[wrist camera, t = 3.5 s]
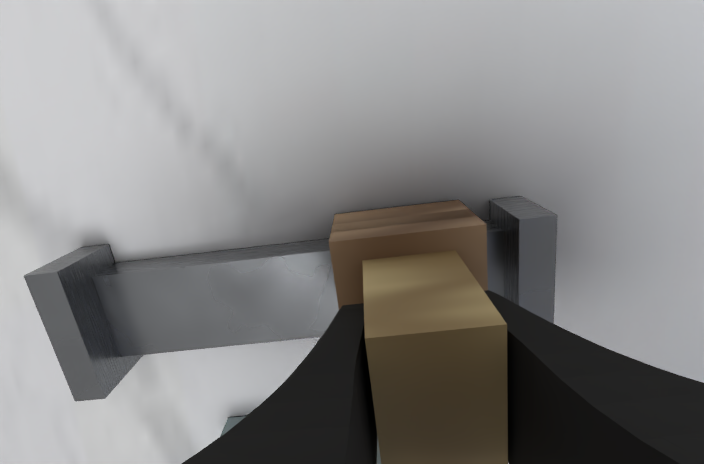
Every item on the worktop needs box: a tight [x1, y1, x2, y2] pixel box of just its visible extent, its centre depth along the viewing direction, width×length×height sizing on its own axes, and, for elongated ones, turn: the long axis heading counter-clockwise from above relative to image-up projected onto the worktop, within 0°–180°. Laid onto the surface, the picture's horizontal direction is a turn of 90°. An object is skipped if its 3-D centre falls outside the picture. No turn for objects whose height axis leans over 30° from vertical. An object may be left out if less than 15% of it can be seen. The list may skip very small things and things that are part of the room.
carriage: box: [329, 200, 508, 464], centre depth 10 cm, size 4×5×6 cm
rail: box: [24, 196, 557, 401], centre depth 12 cm, size 15×4×2 cm, turn 97°
